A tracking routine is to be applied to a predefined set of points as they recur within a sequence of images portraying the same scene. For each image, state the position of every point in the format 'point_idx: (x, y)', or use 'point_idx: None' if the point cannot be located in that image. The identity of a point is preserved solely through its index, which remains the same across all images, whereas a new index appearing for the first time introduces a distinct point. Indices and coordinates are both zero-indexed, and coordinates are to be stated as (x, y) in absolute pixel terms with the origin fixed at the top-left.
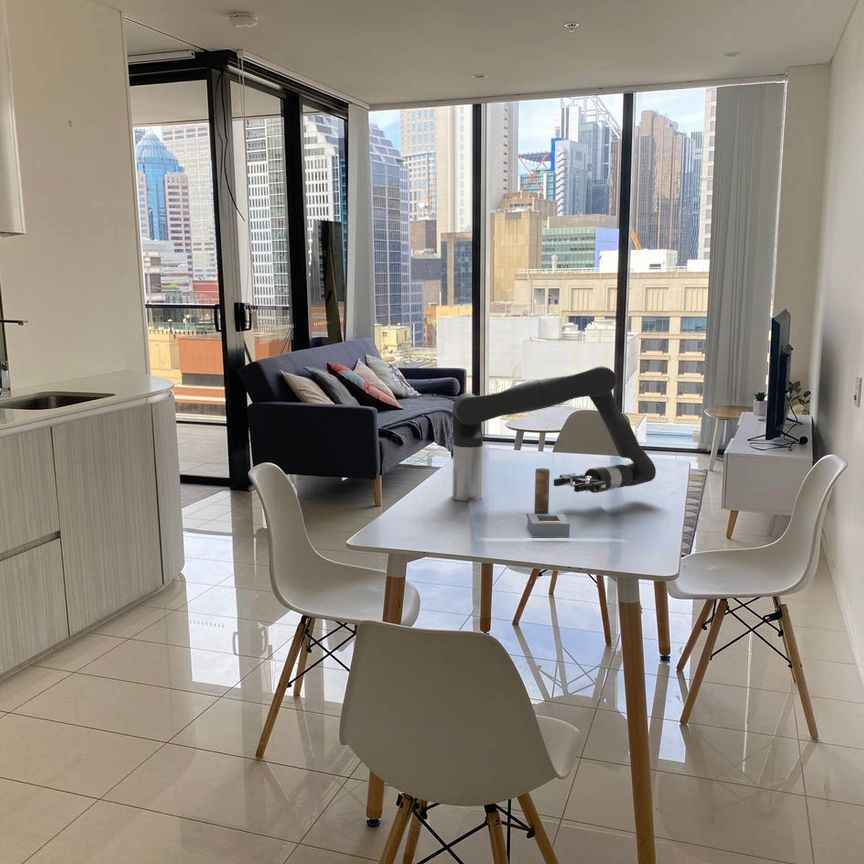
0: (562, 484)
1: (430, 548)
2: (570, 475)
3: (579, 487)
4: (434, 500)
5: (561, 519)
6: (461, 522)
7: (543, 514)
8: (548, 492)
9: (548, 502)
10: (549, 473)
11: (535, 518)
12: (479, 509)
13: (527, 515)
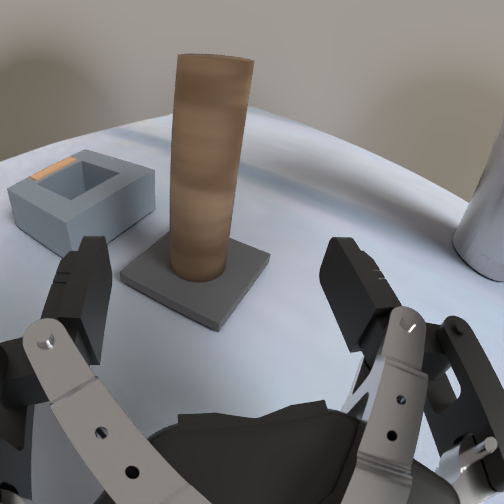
0: (345, 331)
1: (172, 117)
2: (417, 369)
3: (66, 262)
4: (452, 211)
5: (41, 192)
6: (280, 166)
7: (114, 186)
8: (173, 169)
9: (173, 216)
10: (185, 76)
11: (105, 163)
12: (382, 226)
13: (243, 245)
